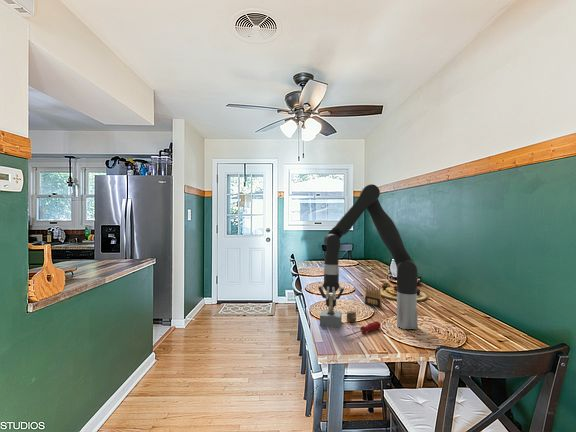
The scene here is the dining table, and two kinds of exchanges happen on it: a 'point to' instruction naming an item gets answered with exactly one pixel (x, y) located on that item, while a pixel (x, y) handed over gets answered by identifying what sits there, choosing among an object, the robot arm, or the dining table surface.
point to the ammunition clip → (373, 297)
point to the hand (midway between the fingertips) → (330, 306)
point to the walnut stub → (351, 316)
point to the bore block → (330, 318)
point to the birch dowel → (330, 305)
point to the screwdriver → (368, 328)
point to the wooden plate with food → (392, 292)
